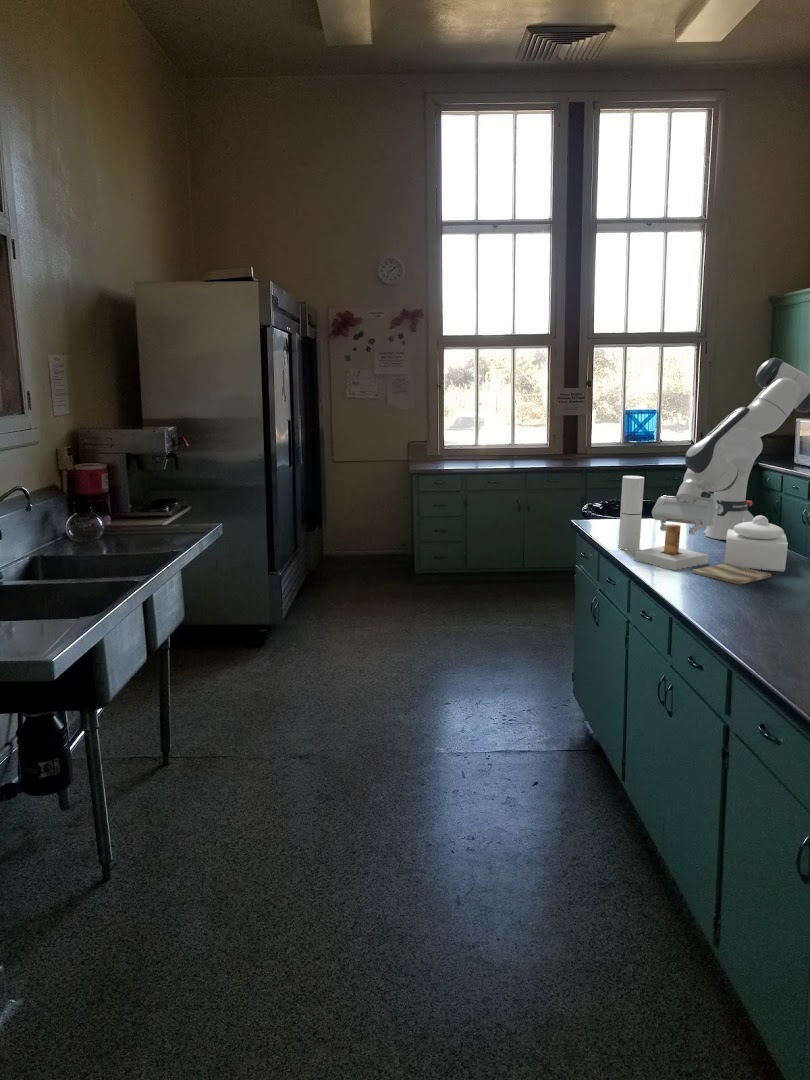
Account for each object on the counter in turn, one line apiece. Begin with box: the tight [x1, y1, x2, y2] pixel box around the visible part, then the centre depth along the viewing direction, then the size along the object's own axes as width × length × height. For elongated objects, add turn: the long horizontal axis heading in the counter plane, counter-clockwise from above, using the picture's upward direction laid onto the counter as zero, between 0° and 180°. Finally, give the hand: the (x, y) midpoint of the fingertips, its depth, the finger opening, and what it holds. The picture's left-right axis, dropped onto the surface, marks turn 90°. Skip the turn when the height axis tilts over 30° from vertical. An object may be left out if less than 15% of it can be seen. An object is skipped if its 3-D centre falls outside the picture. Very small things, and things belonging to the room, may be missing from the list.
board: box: [692, 562, 772, 585], centre depth 240 cm, size 16×16×1 cm
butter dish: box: [723, 514, 789, 572], centre depth 255 cm, size 18×18×16 cm
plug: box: [664, 523, 682, 556], centre depth 255 cm, size 4×4×12 cm
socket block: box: [634, 545, 709, 571], centre depth 256 cm, size 16×16×3 cm
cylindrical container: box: [617, 475, 645, 551], centre depth 273 cm, size 7×7×25 cm
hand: (676, 531), depth 255 cm, fingers open, 8 cm apart
